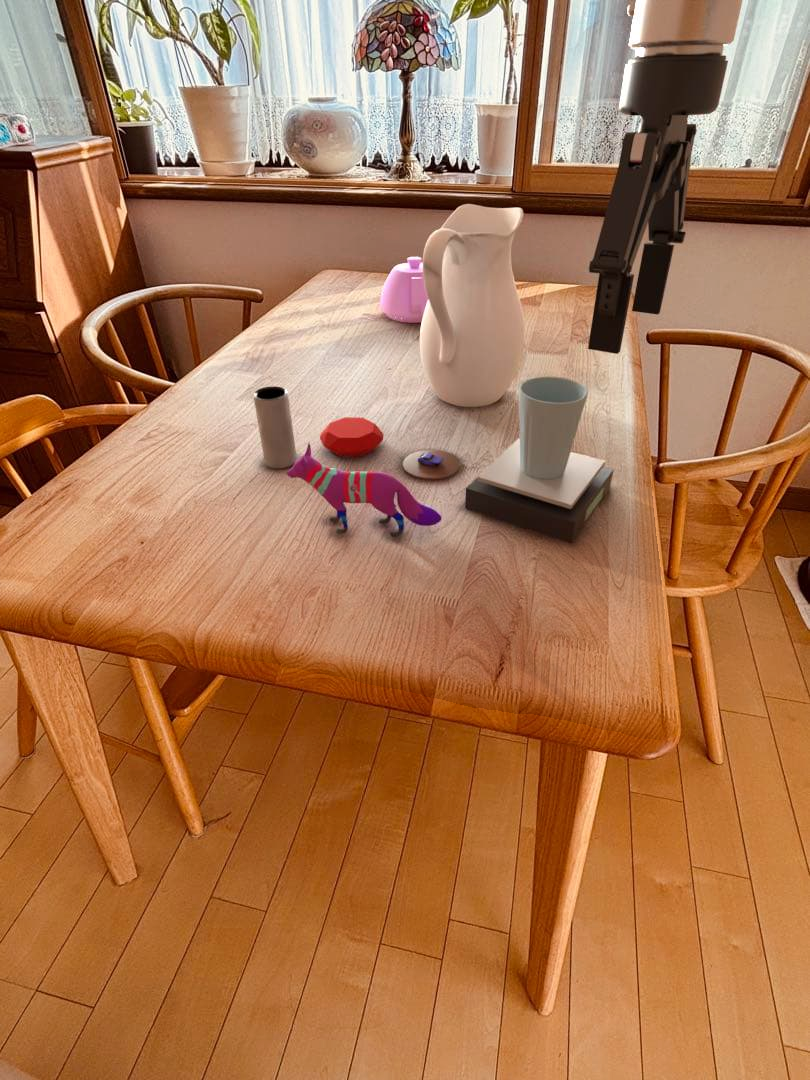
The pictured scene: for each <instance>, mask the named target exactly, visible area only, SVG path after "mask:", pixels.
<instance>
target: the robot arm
mask: <svg viewBox="0 0 810 1080" xmlns="http://www.w3.org/2000/svg"><path fill="white" fill-rule="evenodd" d="M742 4H743V0H631V1H630V2H629V4H628V6H627V14H628V16H629V17H632V24H631V31H630V38H629V43H628V46H629V47H630V48H631V49H632V50H635V58H630V59H629V60H628V63H626V64H625V67H624V73H623V80H622V87H621V94H620V100H619V107H618V108H619V111H620V113H621V114H622V115H623V116H633V117H635V116H639V117H641V118H640V122H641V123H640V124H639V127H638V131H626V132H625V134H624V135H623V136H624V137H623V138H622V145H621V151H620V157H619V161H618V167H617V171H616V173H615V177H614V181H613V185H612V189H611V192H610V196H609V199H608V204H607V207H606V211H605V214H604V217H603V222H602V226H601V229H600V232H599V235H598V240H597V244H596V247H595V250H594V254H593V258H592V259H591V260H590V261H589V266H588V272H589V273H590V274H598V279H597V286H596V293H595V299H594V306H593V313H592V320H591V327H590V333H589V339H588V346H587V349H588V350H590V351H591V350H592V351H597V352H602V353H610V354H615V355H618V354H619V353H620V352H621V349H622V344H623V337H624V333H625V327H626V321H627V317H628V312H629V311H628V309H629V304H630V300H631V295H632V288H633V284H634V278H635V274H634V273H632V271H633V266H634V264H635V260H636V257H637V255H638V252H639V249H640V246H641V244H642V241H643V238H644V235H645V232H646V229H647V227H648V229H647V230H648V236H647V237H648V241H649V242H645V243H643V248H642V254H641V260H640V265H639V270H638V274H637V281H636V286H635V292H634V297H633V302H632V307H631V311H632V312H636V313H643V314H650V315H657V316H658V315H659V314H660V313H661V311H662V310H661V309H662V306H663V305H662V304H663V301H664V296H665V292H666V291H665V290H666V286H667V281H668V276H669V272H670V267H671V263H672V259H673V253H674V248H675V244H680V245H681V244H683V243H684V241H685V238H686V234H687V233H686V231H682V230H683V229H684V225H685V223H684V221H685V220H684V219H685V212H686V204H687V195H688V186H689V180H690V179H689V178H690V171H691V163H692V154H693V153H692V152H693V146H694V143H695V137H696V135H697V131H698V130H697V129H698V128H697V123H688V118H689V116H701V115H702V116H703V115H709V114H712V113H714V112H715V111H716V110H717V109H718V107H719V104H720V99H721V95H722V91H723V87H724V82H725V76H726V74H727V73H726V72H727V68H728V64H729V60H727V55H724V54H723V52H724V48H725V47H726V46H727V47H728V46H730V44H731V43H733V42H734V41H735V36H736V31H737V27H738V22H739V18H740V13H741V10H742V9H741V8H742Z"/></svg>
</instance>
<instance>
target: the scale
mask: <svg viewBox="0 0 810 1080" xmlns="http://www.w3.org/2000/svg"><path fill="white" fill-rule="evenodd" d="M614 471H615V470H614V468H611V467H606V460H604V459H600V458H596V457H593V456H590V455H585V454H581V453H578V452H575V451H574V452H573V451H571V452H570V455H569V459H568V462H567V466H566V469H565V472H564V474H562V475H561V476H560V477H557V478H554V479H538V478H534V477H531V476H528V475H527V474H525V473H524V472H523V471H522V470H521V468H520V437H518V438H516V440H514V442H513V443H511V444H510V445H509V446H508V447H507V448H506V449H505V450H504V451H503V452H502V453H501V454H500V455H499V456H498V457H497V458H496V459H495V460H494V461H492V463H490V464H489V465H488V467H486V468H485V469H484V470H483V471H482V472H481V473H480V474H479V475H478V476H477V477H476V478H475V479H473V481H472V482H471V483H470V484H469V485H467V486H466V488H465V498H464V501H465V502H464V509H465V510H469V511H472V512H475V513H478V514H481V515H483V516H484V515H485V516H487V517H491V518H494V519H497V520H499V521H502V522H505V523H509V524H512V525H514V526H517V527H521V528H523V529H527V530H530V531H532V532H536V533H539V534H542V535H545V536H549V537H552V538H554V539H557V540H560V541H563V542H567V543H570V544H572V543H573V542H574V540H575V539H576V537H577V536H578V534H579V533H580V532H581V530H582V529H583V528H584V526H585V525H586V524H587V522H588V520H589V519H590V518H591V517H592V515H593V513H594V512H595V510H596V509H597V508H598V507H599V505H600V503H601V502H602V501H603V500H604V499H605V496H606V495H607V493H608V492H609V490H610V489H611V485H612V480H613V475H614Z"/></svg>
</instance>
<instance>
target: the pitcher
mask: <svg viewBox="0 0 810 1080" xmlns="http://www.w3.org/2000/svg"><path fill="white" fill-rule="evenodd" d="M523 220H524V210H523V208H521V207H503V208H502V207H489V206H482V205H477V204H474V203H473V204H472V203H466V204H465V203H464V204H462V205H460V206H458V207H457V208H456V209H455V210H454V211H453V212H452V213H451V214H450V215H449V216H448V218H446V221H444V223H443V224H442V226H441V227H440V228H439V229H436V230H434V231H433V232H432V233H431V234H430V235H429V237H428V238H427V240H426V242H425V245H424V248H423V252H422V253H423V254H422V255H423V256H422V263H423V280H424V286H425V290H426V294H427V297H428V301H427V304H426V308H425V311H424V314H423V318H422V322H420V323H421V324H420V331H419V354H420V355H419V356H420V361H421V365H422V370H423V372H424V375H425V377H426V379H427V381H428V384H429V385H430V387H431V389H432V390H433V392H434V393H435V394H436V396H437V398H439V400H441V401H443V402H445V403H447V404H449V405H453V406H457V407H464V408H477V407H486V406H490V405H492V404H495V403H496V402H498V401H499V400H500V399H501V398H502V397H503V396H504V394H505V393H506V392H507V391H508V389H509V388H510V386H511V385H512V383H513V381H514V380H515V378H516V376H517V374H518V372H519V370H520V367H521V363H522V360H523V355H524V350H525V342H526V341H525V340H526V327H525V316H524V312H523V306H522V303H521V298H520V294H519V291H518V288H517V285H516V281H515V276H514V273H513V268H512V255H511V253H512V244H513V240H514V237H515V236H516V233H517V231H518V230H519V229H520V226H521V224H522V222H523Z"/></svg>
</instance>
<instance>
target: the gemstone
mask: <svg viewBox="0 0 810 1080" xmlns="http://www.w3.org/2000/svg"><path fill="white" fill-rule="evenodd" d="M384 437H385V435H384V433H383V432H382V430H381V429H380V427H379V426H378V425H377V424H376V423H374V422H373V421H371V420H369V419H366V418H365V417H349V416H347V417H346V416H344V417H342V418H340V419H336V420H334V421H331V422H329V424H328V425H327V426H326V427H325V429H324V430H322V432H321V433H320V435H319V440H320V442H321V443H322V446H323V447H324V448H326V449H327V450H329V451H330V452H332V453H334V454H335V455H336V456H339V457H343V458H345V457H347V458H350V457H354V458H359V457H362V456H364V455H366V454H370V453H372V452H373V451H375V450H376V449H377V447H378V446H379V445H380V444H381V443H382V442H383V441H384Z"/></svg>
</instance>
